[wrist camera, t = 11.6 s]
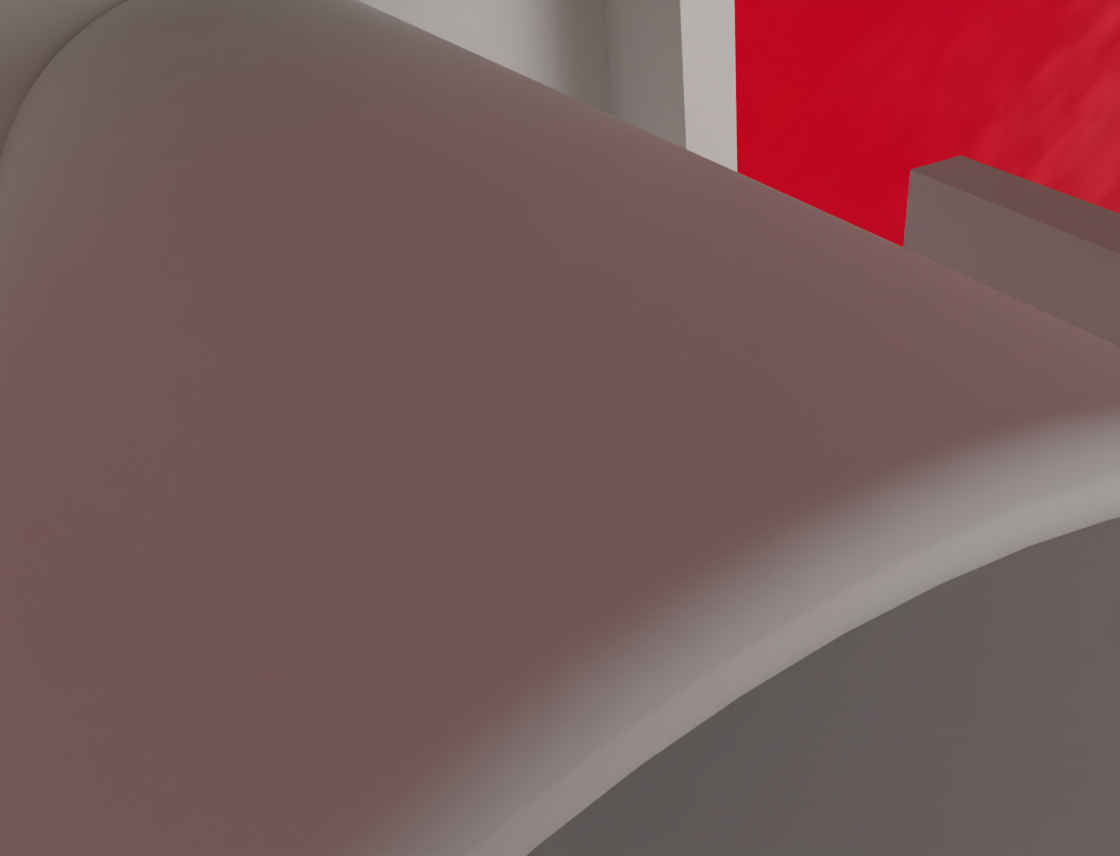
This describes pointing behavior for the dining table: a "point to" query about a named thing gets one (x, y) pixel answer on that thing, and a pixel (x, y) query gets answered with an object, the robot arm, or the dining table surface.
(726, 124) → the tray
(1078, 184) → the dining table surface
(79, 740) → the cup
